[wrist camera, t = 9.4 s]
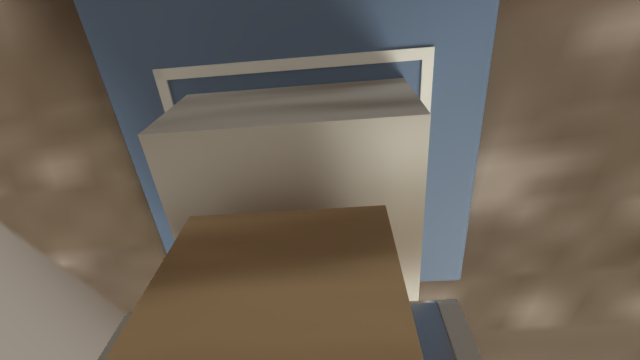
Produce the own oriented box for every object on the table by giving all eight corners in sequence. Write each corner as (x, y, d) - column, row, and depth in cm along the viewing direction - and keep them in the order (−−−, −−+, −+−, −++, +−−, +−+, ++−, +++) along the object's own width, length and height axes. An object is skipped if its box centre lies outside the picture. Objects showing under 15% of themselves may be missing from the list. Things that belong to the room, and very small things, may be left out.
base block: (187, 94, 14) (137, 134, 10) (403, 77, 13) (430, 114, 10) (230, 259, 17) (205, 329, 14) (398, 251, 17) (416, 321, 13)
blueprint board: (-47, -396, 9) (-93, -441, 8) (549, -495, 8) (580, -560, 7) (187, 277, 19) (180, 293, 18) (454, 265, 19) (460, 281, 18)
